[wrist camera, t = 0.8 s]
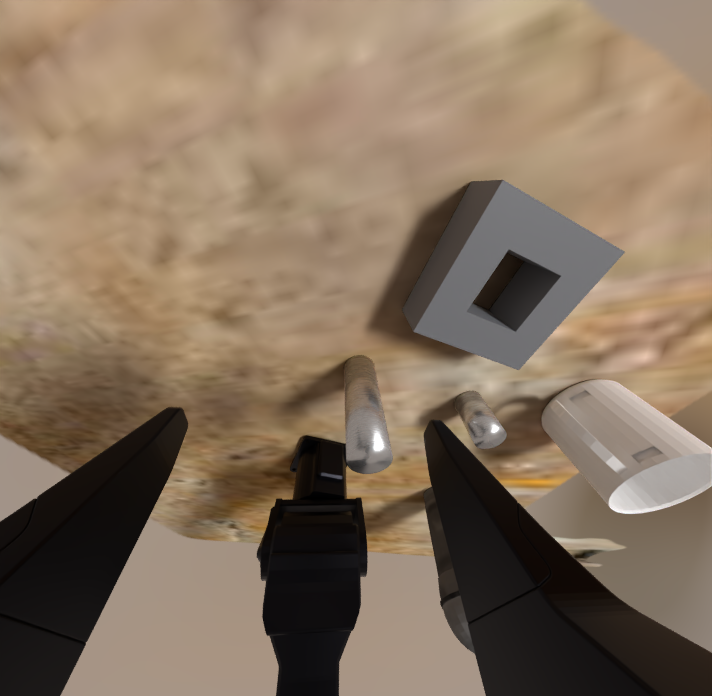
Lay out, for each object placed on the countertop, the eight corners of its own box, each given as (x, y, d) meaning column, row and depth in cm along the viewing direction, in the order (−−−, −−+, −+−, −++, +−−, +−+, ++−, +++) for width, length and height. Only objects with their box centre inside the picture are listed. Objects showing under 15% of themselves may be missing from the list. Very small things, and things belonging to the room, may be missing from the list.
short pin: (470, 413, 29) (492, 451, 25) (448, 407, 29) (467, 445, 24) (486, 394, 28) (513, 431, 24) (464, 387, 27) (487, 424, 23)
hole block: (493, 344, 25) (518, 370, 21) (401, 309, 22) (413, 331, 19) (576, 241, 20) (625, 251, 16) (471, 181, 17) (503, 179, 14)
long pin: (367, 383, 26) (380, 477, 18) (339, 375, 25) (339, 469, 17) (379, 360, 25) (400, 450, 16) (350, 351, 24) (357, 440, 16)
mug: (634, 401, 30) (741, 477, 22) (562, 443, 33) (632, 522, 25) (587, 349, 26) (698, 421, 18) (510, 404, 29) (574, 485, 21)
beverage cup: (416, 481, 36) (485, 742, 19) (467, 477, 36) (581, 732, 19) (412, 508, 40) (467, 745, 23) (458, 504, 40) (547, 736, 23)
